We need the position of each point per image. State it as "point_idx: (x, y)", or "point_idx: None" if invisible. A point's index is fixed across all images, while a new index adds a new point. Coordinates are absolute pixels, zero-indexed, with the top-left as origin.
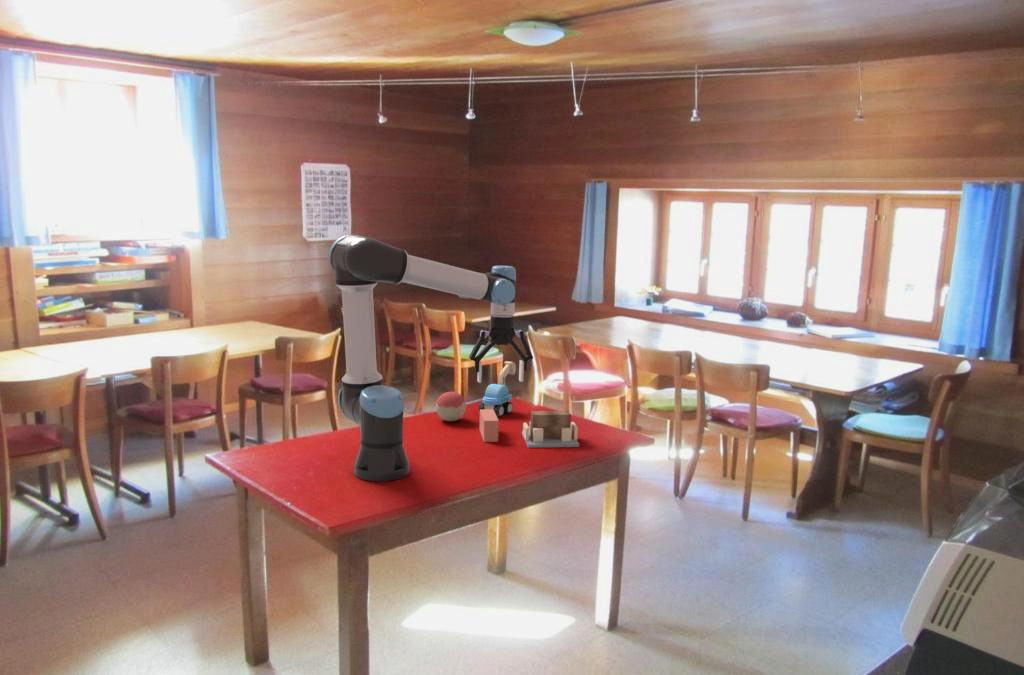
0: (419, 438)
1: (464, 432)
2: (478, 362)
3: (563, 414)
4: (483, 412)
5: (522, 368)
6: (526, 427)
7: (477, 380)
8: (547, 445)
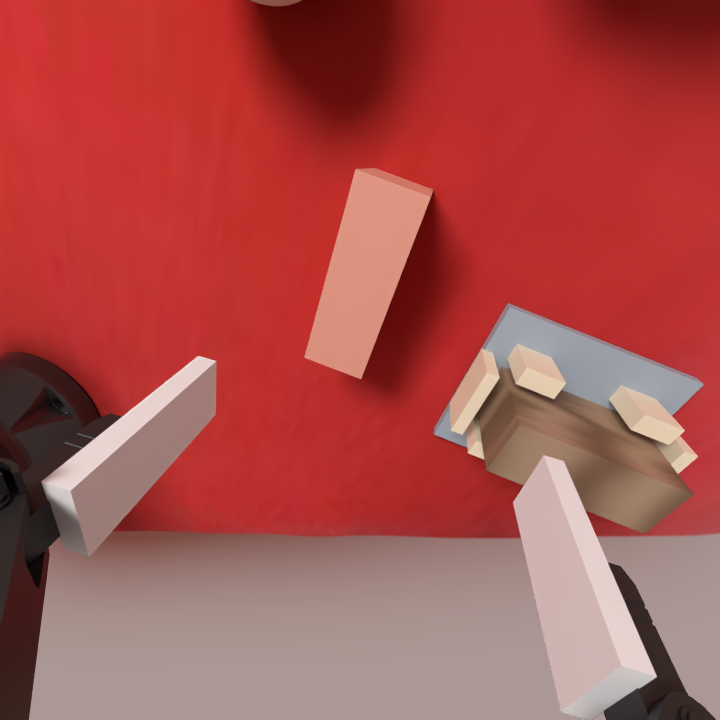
0: (124, 189)
1: (299, 183)
2: (53, 529)
3: (617, 519)
4: (350, 236)
5: (550, 623)
6: (457, 425)
7: (195, 363)
8: None
